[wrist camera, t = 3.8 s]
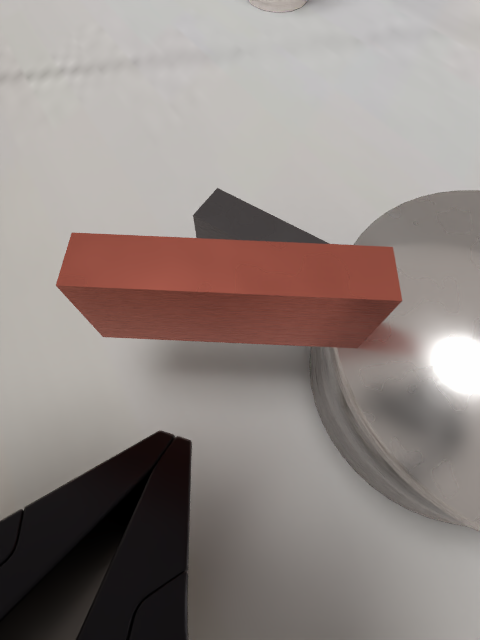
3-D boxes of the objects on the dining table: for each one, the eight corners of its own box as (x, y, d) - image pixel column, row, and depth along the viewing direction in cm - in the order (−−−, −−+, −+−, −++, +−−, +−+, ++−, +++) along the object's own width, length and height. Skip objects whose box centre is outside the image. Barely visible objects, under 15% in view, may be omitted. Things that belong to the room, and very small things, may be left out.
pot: (642, 363, 19) (766, 328, 15) (602, 636, 14) (772, 708, 10) (266, 184, 25) (274, 117, 20) (140, 338, 20) (112, 296, 15)
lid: (612, 212, 17) (740, 121, 13) (796, 565, 11) (1156, 621, 7) (143, 191, 17) (113, 94, 13) (73, 532, 11) (-30, 566, 7)
